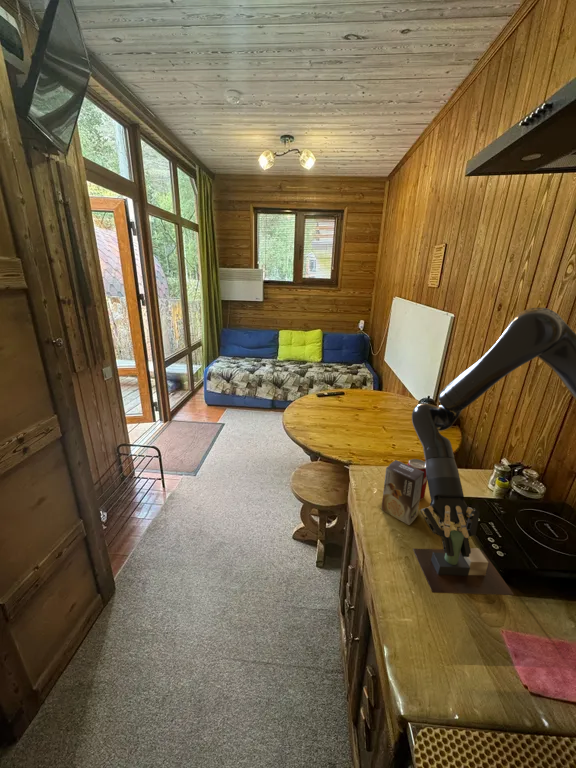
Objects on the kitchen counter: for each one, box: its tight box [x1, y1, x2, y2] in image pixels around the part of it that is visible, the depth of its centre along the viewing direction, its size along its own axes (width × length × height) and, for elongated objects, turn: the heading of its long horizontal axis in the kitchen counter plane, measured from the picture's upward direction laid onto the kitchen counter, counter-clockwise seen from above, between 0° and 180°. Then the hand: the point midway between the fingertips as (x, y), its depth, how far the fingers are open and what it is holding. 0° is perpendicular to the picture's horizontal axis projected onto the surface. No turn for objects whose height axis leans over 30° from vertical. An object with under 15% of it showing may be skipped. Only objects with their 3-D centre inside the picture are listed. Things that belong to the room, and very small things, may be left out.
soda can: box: [406, 458, 428, 501], centre depth 100 cm, size 7×7×12 cm
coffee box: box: [381, 459, 424, 526], centre depth 90 cm, size 9×6×16 cm
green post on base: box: [431, 529, 470, 576], centre depth 72 cm, size 4×7×10 cm, turn 88°
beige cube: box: [464, 547, 488, 576], centre depth 73 cm, size 4×4×4 cm
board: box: [412, 547, 515, 596], centre depth 74 cm, size 18×12×2 cm, turn 89°
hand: (458, 555), depth 70 cm, fingers closed on green post on base, 3 cm apart
